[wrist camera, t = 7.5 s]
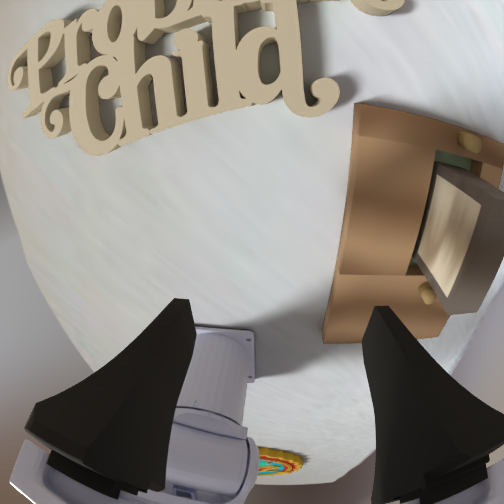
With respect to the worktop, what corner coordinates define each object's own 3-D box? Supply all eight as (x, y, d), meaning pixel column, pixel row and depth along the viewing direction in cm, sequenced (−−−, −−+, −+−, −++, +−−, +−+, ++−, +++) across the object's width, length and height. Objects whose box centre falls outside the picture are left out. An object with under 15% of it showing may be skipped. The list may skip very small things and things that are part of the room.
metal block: (439, 256, 19) (477, 312, 13) (411, 255, 20) (446, 315, 14) (463, 167, 15) (521, 205, 9) (433, 160, 15) (492, 197, 9)
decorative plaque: (171, 459, 57) (208, 443, 42) (173, 452, 59) (210, 432, 44) (263, 480, 63) (327, 463, 48) (264, 473, 65) (327, 454, 50)
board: (433, 326, 24) (442, 347, 21) (321, 330, 25) (324, 356, 22) (494, 140, 13) (518, 150, 11) (354, 103, 14) (369, 104, 12)
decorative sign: (40, 202, 18) (4, 62, 11) (54, 193, 20) (19, 60, 13) (430, 110, 12) (370, -74, 5) (416, 107, 14) (363, -63, 7)
